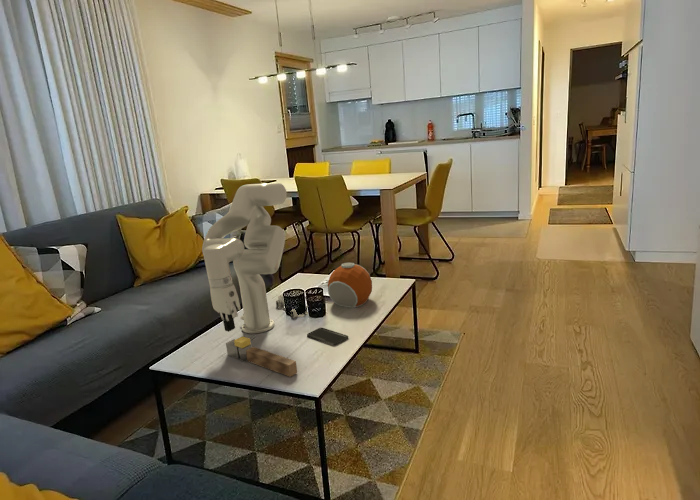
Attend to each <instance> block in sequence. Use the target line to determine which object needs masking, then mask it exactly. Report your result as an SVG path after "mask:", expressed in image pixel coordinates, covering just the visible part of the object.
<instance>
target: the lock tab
mask: <svg viewBox="0 0 700 500" xmlns="http://www.w3.org/2000/svg"><path fill="white" fill-rule="evenodd" d="M251 342H252V341H251V338H249V337H247V336H246V337H245V336H239V337H238V338H235V340H234V343H235V346H237V347H240V348H244V347H246V346H248V345H250V344H251V345H252V343H251Z"/></svg>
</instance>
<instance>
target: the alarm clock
mask: <svg viewBox="0 0 700 500" xmlns="http://www.w3.org/2000/svg"><path fill="white" fill-rule="evenodd" d="M371 277H372V276H371V275H370V273H369V272H368V271H367V269H366V268H364V267H363V266H362V265H360V264H355V263H354V262H344V263H341V265H340V266H338V267H337V268H335V269H334V270H333V271H332V273H330V276H329V278H328V280H327V281H328V282H327V292H328V296H329V298H330V299H331V301H332V302H333V303H334V304H335V305H337V306H341V307H345V308H346V307H347V308H357V307H361V306H363V305H364V304H365V303H366V302H367V301H368V300H369V298H370V296H371V294H372V292H373V291H372V290H373V281H372V278H371Z"/></svg>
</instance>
